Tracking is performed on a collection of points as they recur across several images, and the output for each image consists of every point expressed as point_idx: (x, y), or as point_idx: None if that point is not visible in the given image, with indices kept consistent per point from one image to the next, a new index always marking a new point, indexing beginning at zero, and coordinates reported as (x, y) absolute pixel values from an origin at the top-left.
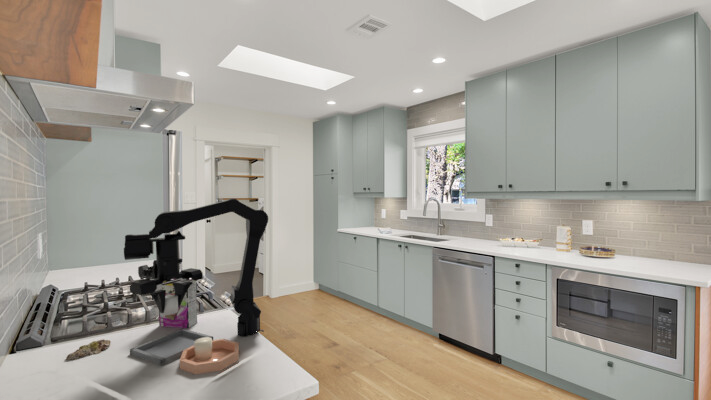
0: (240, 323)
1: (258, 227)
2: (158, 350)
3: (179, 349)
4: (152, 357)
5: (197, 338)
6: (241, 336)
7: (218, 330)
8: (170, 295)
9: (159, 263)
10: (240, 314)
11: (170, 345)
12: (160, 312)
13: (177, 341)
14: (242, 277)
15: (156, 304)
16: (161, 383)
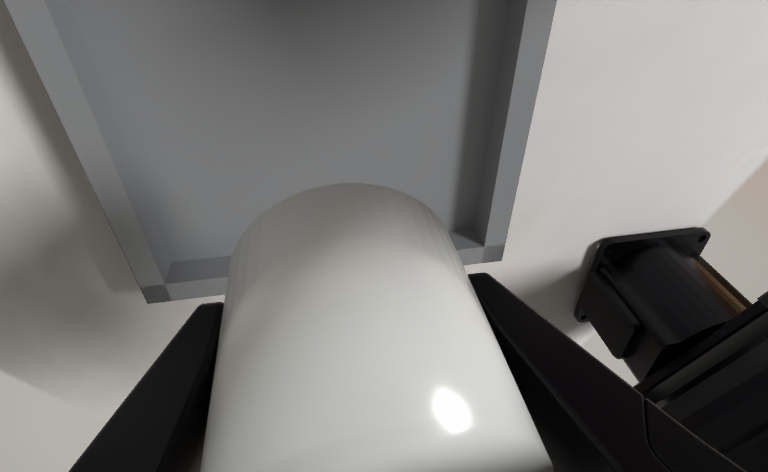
0: (623, 343)
1: None
2: (221, 75)
3: (322, 184)
4: (114, 227)
5: (490, 140)
6: (582, 293)
7: (678, 88)
8: (492, 456)
9: None
10: (713, 325)
11: (325, 72)
12: (201, 313)
13: (399, 48)
14: None
15: (100, 439)
16: (109, 365)
